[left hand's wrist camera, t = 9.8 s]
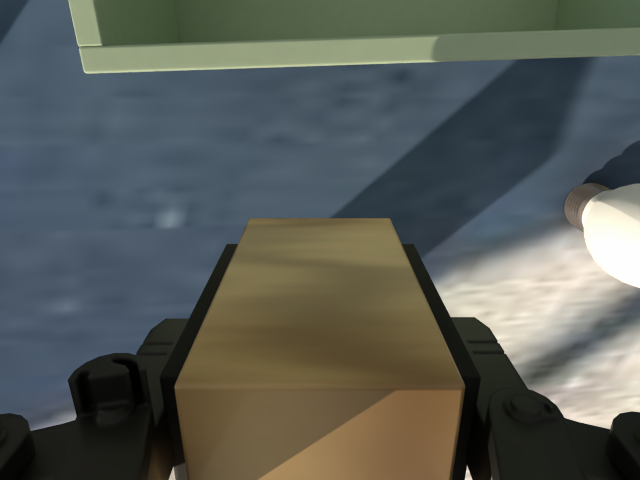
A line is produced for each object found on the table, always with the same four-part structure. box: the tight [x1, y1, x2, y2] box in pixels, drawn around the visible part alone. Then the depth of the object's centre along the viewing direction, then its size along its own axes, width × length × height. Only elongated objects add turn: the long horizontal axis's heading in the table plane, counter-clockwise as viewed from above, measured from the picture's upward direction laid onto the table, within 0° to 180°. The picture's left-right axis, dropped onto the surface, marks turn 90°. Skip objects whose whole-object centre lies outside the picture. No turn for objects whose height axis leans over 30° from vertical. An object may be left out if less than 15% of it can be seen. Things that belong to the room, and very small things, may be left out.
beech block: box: [174, 218, 465, 480], centre depth 11 cm, size 4×4×8 cm
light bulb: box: [565, 183, 640, 288], centre depth 31 cm, size 7×7×11 cm
